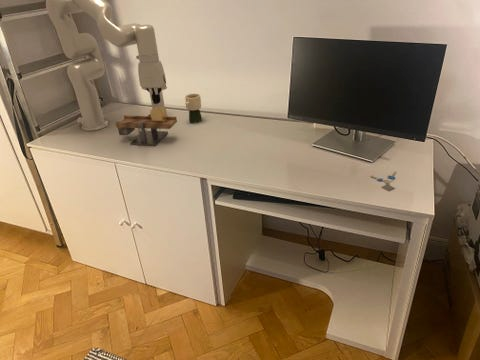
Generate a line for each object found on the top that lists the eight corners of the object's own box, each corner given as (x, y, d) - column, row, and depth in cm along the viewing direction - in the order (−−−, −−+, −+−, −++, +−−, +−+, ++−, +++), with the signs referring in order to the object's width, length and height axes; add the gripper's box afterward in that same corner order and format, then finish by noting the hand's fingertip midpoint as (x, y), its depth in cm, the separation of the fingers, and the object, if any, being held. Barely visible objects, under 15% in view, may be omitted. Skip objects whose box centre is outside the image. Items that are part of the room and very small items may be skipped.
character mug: (196, 116, 188) (193, 91, 182) (207, 118, 185) (205, 93, 178) (183, 124, 180) (179, 98, 174) (194, 126, 177) (191, 99, 171)
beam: (118, 135, 164) (115, 122, 161) (127, 128, 171) (124, 115, 168) (171, 137, 159) (168, 123, 156) (178, 130, 166) (176, 116, 163)
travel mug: (165, 118, 189) (159, 79, 179) (152, 119, 189) (145, 79, 179) (167, 114, 194) (161, 75, 184) (155, 114, 194) (148, 76, 184)
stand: (130, 145, 162) (125, 124, 157) (144, 132, 174) (140, 113, 169) (155, 146, 159) (151, 125, 155) (168, 133, 171) (165, 113, 166)
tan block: (152, 124, 159) (149, 111, 156) (157, 120, 164) (154, 107, 161) (163, 124, 158) (160, 111, 155) (167, 120, 163) (165, 107, 160)
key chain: (394, 193, 119) (395, 191, 118) (367, 189, 121) (368, 187, 121) (396, 172, 130) (396, 170, 129) (371, 169, 132) (371, 167, 132)
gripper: (127, 60, 146) (136, 105, 155) (162, 60, 143) (170, 106, 152) (136, 56, 152) (144, 99, 161) (170, 56, 149) (176, 100, 158)
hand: (157, 102), depth 157 cm, fingers closed
